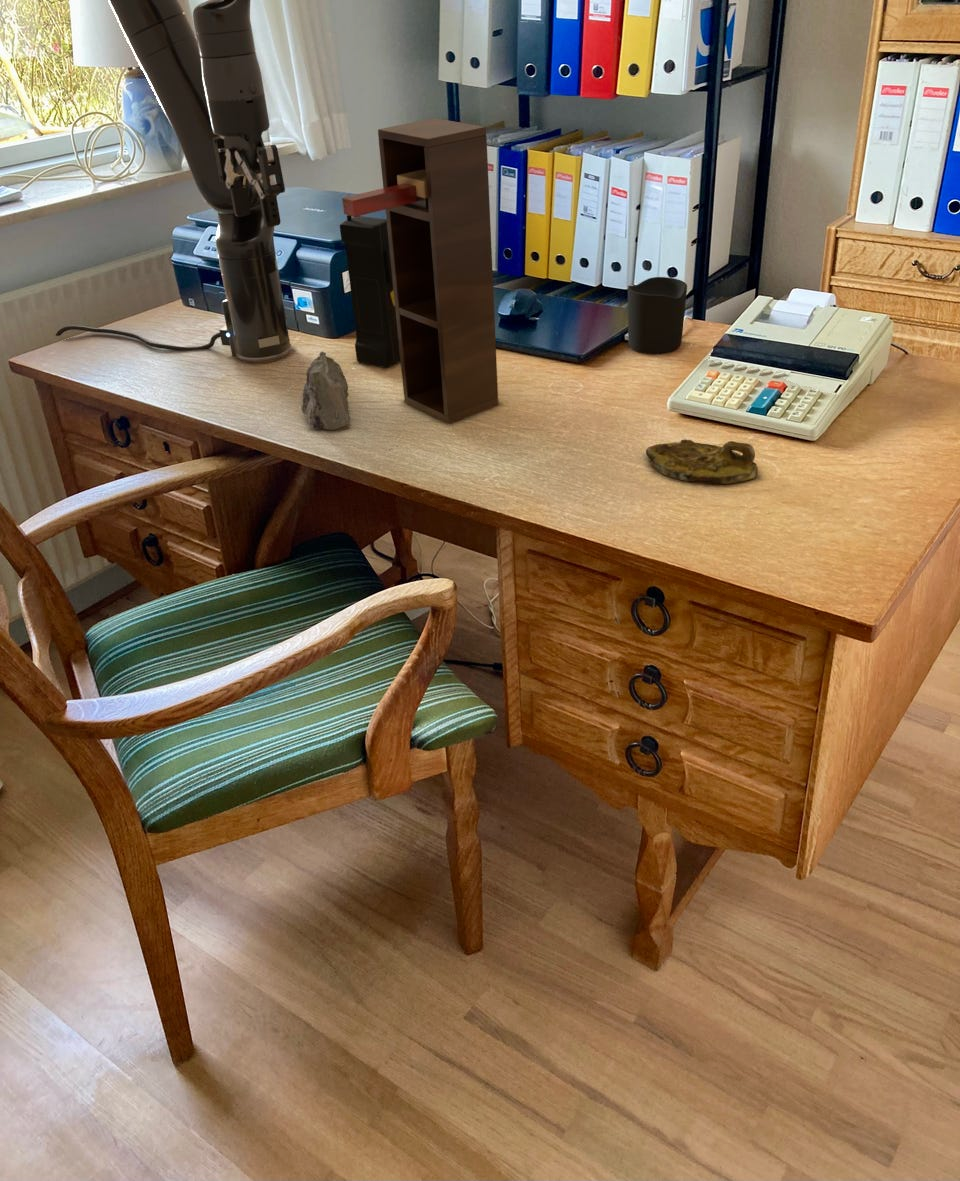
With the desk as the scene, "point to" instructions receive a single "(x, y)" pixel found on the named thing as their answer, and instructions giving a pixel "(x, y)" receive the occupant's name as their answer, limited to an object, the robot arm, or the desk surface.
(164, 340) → the desk surface
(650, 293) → the pen holder
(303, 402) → the mineral rock
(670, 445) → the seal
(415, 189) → the brush
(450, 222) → the shelf
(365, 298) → the portable radio
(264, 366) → the desk surface
